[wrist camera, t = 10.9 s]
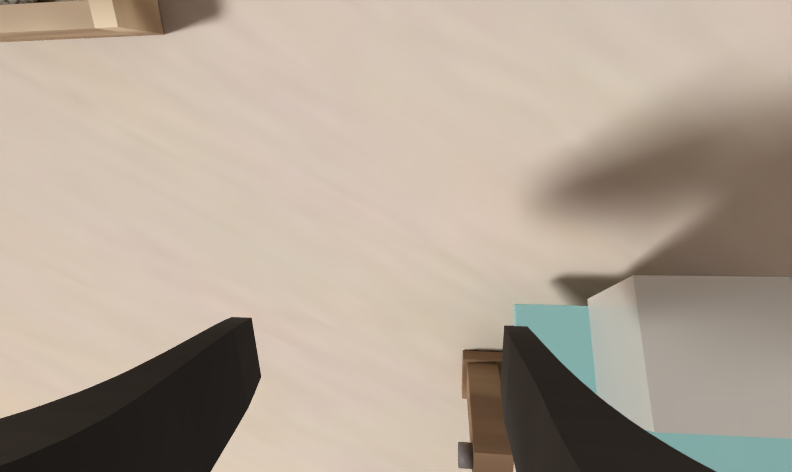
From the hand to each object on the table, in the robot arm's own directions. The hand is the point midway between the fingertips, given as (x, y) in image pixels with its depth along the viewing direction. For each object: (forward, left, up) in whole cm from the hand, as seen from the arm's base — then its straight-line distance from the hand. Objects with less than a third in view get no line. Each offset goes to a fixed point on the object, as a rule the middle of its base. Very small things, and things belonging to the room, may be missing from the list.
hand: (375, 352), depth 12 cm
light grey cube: (-3, -11, -5) cm, 12 cm away
